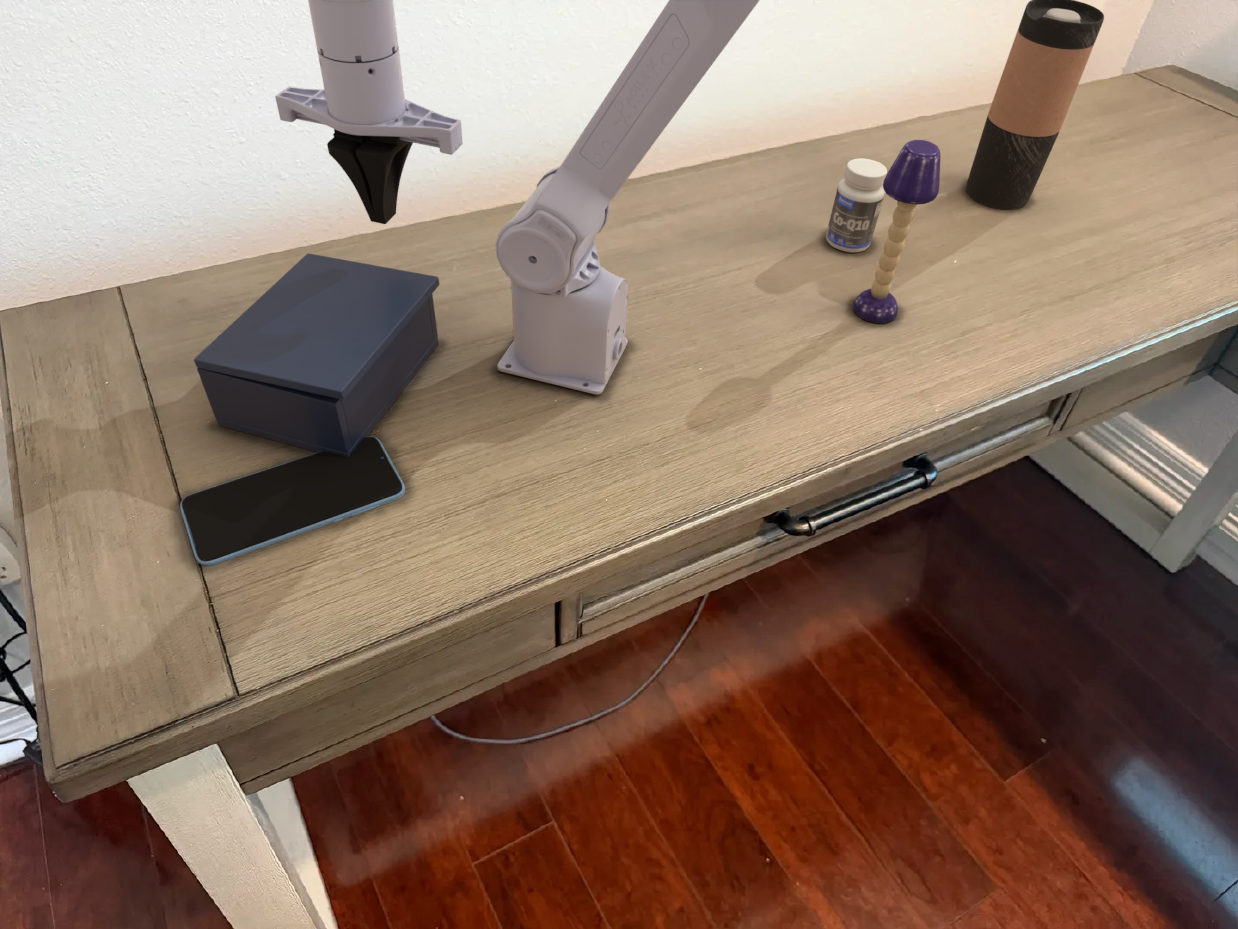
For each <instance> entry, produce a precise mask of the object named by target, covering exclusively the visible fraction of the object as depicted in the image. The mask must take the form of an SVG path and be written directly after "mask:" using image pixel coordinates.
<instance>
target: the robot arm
mask: <svg viewBox="0 0 1238 929" xmlns="http://www.w3.org/2000/svg"><path fill="white" fill-rule="evenodd" d="M307 2H308V7H309V12H310V18H311V25H312V30H313V34H314V40H315V46H316V51H317V56H318V57H317V58H318V61H319V67H320V73H321V79H322V85H323V89H322V88H321V89H317V88H302V87H294V86H288V87H285V89H283V90H281V91H280V92H279V93H277V94H276V95H275V96H274V99H275V102H276V107H277V111H278V115H279V120H280V121H283V122H286V123H287V122H288V123H294V122H295V121H296V120H299V121H304V122H308V123H309V122H310V123H314V124H319V125H324V126H327V127H329V128H330V129H333V132H334V133H333V134H332V135H333V136H332V138H331V139H330V140H329V141H328V142H327V143H326V146H327V152H328V154H329V156H330V157H332V159H333V160H334V161H335V162H337V164H338V165H339V166H340V168H341V169H342V170H343V171H344V173H345V174H346V176H347V177H348V179H349V180H350V182H351V183H352V185H353V187H354V188H355V191H356V192H357V194H358V196H359V198H360V201H361V202H362V205H363V206H364V209H365V211H366V213H367V215H368V218H369V220H370V222H372V223H376V224H382V225H386V224H388V223H389V222H390V221H391V219H393V218H394V216H395V215H396V214H397V205H398V204H397V203H398V196H399V195H398V194H399V188H400V183H401V179H402V174H403V171H404V167H405V164H406V161H407V158H408V156H409V153H410V151H411V148H412V146H413V144H418V145H423V146H427V147H428V146H429V147H433V148H438V149H439V152H440V153H441V154H445V155H450V156H452V155H453V154H455V153H456V152H457V151H458V150H459V148H461V146H462V145H463V142H464V141H463V129H462V120H461V119H458V118H454V117H450V116H447V115H443V114H442V113H438V112H437V111H434V110H431V109H429V108H426V107H424V106H422V105H419V104H418V103H415V102H413V101H410V100H408V99H406V98H405V88H404V81H403V70H402V64H401V55H400V46H399V40H398V31H397V30H398V29H397V22H396V12H395V5H394V0H307ZM759 2H760V0H668V1H667V2H666V4H665V6H664V7H663V9H662V10H661V12H660V13H659V15H658V16H657V18H656V19H655V21H654V23H652V25H651V27H650V29H649V30H648V31H647V33H646V35H645V36H644V38H643V39H642V41H641V42H640V44H639V45H638V47H637V49H635V52H634V53H633V55H632V56H631V58H630V59H629V61H628V62H627V64H626V65H625V67H624V68H623V69H622V71H621V73H620V74H619V75H618V77H617V79H616V80H615V82H614V83H613V85H612V87H611V88H610V90H609V91H608V93H607V94H606V96H605V97H604V99H603V100H602V101H601V103H600V104H599V107H598V108H597V109H596V110H595V112H594V114H593V115H592V117H591V119H590V120H589V122H588V123H587V125H586V126H585V128H584V129H583V131H582V132H581V134H580V135H579V136H578V138H577V140H576V141H575V143H574V145H573V146H572V148H571V149H570V150H569V152H568V154H567V155H566V156H565V158H564V160H563V161H562V163H561V164H560V166H557V167H555V168H552V169H550V170H548V171H547V172H546V173H544V175H542V176H541V178H540V180H539V181H538V183H537V184H536V186H535V187H536V188H535V189H534V190H533V192H532V193H531V194H530V195H529V197H528V198H527V199H526V201H525V202H524V203H523V204H522V206H521V207H520V208H519V210H517V212H516V214H515V215H514V216H513V217H512V219H510V220H509V221H507V222H506V223H505V224H504V225H503V226H502V228H501V229H500V231H499V232H498V234H497V237H496V241H495V254H496V258H497V261H498V263H499V266H500V268H501V269H502V272H504V274H505V275H506V276H507V277H508V278H509V279H510V288H511V291H510V292H511V309H512V310H511V311H512V328H513V329H512V330H513V331H512V332H513V339H512V340H513V341H512V342H511V343H510V345H509V346H508V348H507V349H506V351H505V352H504V354H503V355H502V357H501V358H500V360H499V361H498V363H497V366H496V368H497V370H498V371H499V372H502V373H505V374H510V375H513V376H518V377H521V378H527V379H531V380H534V381H539V382H542V383H547V384H552V385H555V386H560V387H562V388H566V389H572V390H576V391H579V392H584V393H588V394H592V395H600V394H602V393H603V392H604V391H605V388H606V387H607V384H608V382H609V381H610V378H611V377H612V374H613V372H614V371H615V369H616V367H617V364H618V363H619V361H620V359H621V357H622V356H623V354H624V351H625V350H626V348H627V346H628V338H627V324H628V310H629V309H628V307H629V283H628V281H627V279H626V278H624V277H621V276H620V275H619V276H618V275H616V274H614V273H612V272H610V271H608V270H607V269H606V268H604V267H602V265H600V259H599V258H600V257H599V253H598V250H597V247H596V237H597V236H598V234H599V233H601V231H602V230H603V229H604V228H605V226H606V225H607V222H608V220H609V215H610V204H611V202H612V200H613V199H614V198H615V197H616V195H617V194H618V193H619V191H620V190H621V188H622V187H623V186H624V184H625V183H626V182H627V180H628V179H629V178H630V176H631V175H632V174H633V172H634V171H635V170H636V168H637V167H638V166H639V165H640V163H641V162H642V160H643V159H644V157H645V156H646V155H647V154H648V152H649V151H650V149H651V148H652V147H653V145H654V144H655V143H656V141H657V140H658V138H659V137H660V136H661V134H663V132H664V130H665V129H666V128H667V127H668V125H669V123H670V122H671V121H672V120H673V119H674V117H675V116H676V114H677V113H678V111H679V110H680V109H681V107H682V106H683V105H684V103H685V102H686V101H687V99H688V98H689V97H690V96H691V94H692V93H693V91H694V90H695V89H696V87H697V85H698V84H699V83H700V82H701V80H702V79H703V78H704V77H705V75H706V74H707V72H708V71H709V70H710V68H711V67H712V66H713V64H714V63H715V62H716V60H717V59H718V57H719V56H720V55H721V53H722V52H723V51H724V49H725V48H726V47H727V46H728V44H729V43H730V41H731V40H732V38H733V37H734V36H735V34H736V33H737V32H738V31H739V30H740V28H741V26H742V25H743V23H744V22H745V21H746V20H747V18H748V17H749V15H750V14H751V13H752V11H753V10H754V9H755V7H756V6H757V5H758V4H759Z"/></svg>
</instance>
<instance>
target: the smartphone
mask: <svg viewBox="0 0 1238 929" xmlns="http://www.w3.org/2000/svg"><path fill="white" fill-rule="evenodd" d="M405 492H406V486H405V483H404V481H403V480H402V478H401V476H400V474H399V472H398V470H397V468H396V467H395V465H394V462H393V461H392V459H391V457H390V455H389V454H388V452H387V450H386V448H385V447H384V444H383V442H382V441H381V440H380V439H379V438H378V437H376V436H370V435H369V436H368V437H364V438H363V439H362V440H361V442H360V443H359V444H358V446H357V447H356V448H355V449H354V451H353V452H352V453H351V455H350V456H349V457H344V456H340V455H337V454H333V453H329V452H326V451H320V452H313V453H312V454H308V455H304V456H302V457H299V458H296V459H293V460H290V461H287V462H284V463H281V464H278V465H274V466H271V467H268V468H266V469H263V470H260V471H257V472H256V471H255V472H254V473H250V474H248V475H247V474H246V475H244V476H240V477H238V478H235V479H232V480H229V481H226V482H224V483H219V484H217V485H214V486H211V487H207V488H205V489H202V490H199V491H196V492H193V493H191V494H188V495H186V496H185V497H183V499H181V501H180V504H179V509H180V513H181V516H182V520H183V523H184V526H185V529H186V533H187V537H188V539H189V542H190V546H191V549H192V552H193V555H194V558H195V561H196V562H197V563H198V564H199V565H201V566H205V567H207V566H215V565H217V564H220V563H223V562H226V561H230V560H232V559H235V558H238V557H241V556H243V555H245V554H249V553H251V552H254V551H258V550H260V549H263V548H265V547H269V546H271V545H274V544H277V543H280V542H283V541H285V540H288V539H292V538H294V537H296V536H299V535H302V534H306V533H308V532H310V531H314V530H316V529H319V528H322V527H324V526H327V525H330V524H336V523H338V522H341V521H343V520H345V519H347V518H351V517H355V516H357V515H361V514H363V513H366V512H368V511H371V510H375V509H377V508H380V507H381V506H385V505H387V504H390V503H393V502H395V501H398V500H399V499H401V498H402V497H403V496H404V495H405Z"/></svg>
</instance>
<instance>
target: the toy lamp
mask: <svg viewBox="0 0 1238 929" xmlns="http://www.w3.org/2000/svg"><path fill="white" fill-rule="evenodd" d="M940 179H941V149H940V147H939V146H938V145H936V144H935V143H934V142H931V141H929V140H925V139H912V140H909V141H908V142H906V143H905V144H904V145H903V147H902V148H901V150H900V151H899V152H898V154H897V157H896V158H895V160H894V161H893V163H892V165H891V166H890V168H889V170H888V171H887V174H886V177H885V179H884V182H883V188H884V191H885V195H887V196H888V197H890V198H892V199H893V200H895V201H896V207H895V209H894V211H893V213H892V222H891V223H890V225H889V226H888V232H887V234H888V236H887V238H886V239H885V241H884V244H883V251H882V253H881V254H880V257H879V259H878V264H879V266H878V267H877V268H876V271H875V274H874V281H873V282H872V284H871V288H868V289H864V290H863V291H862V292H860V293H859V294H858V295H857V296H856V298H855V299H854V301H853V303H852V309H853V312H854V313H855V315H857V317H859V318H861V319H863V320H865V321H867V322H869V323H873V324H888V323H890V322H892V321H894V320H895V319H896V318H897V316H898V312H899V305H898V301H897V299H896V298H895V297H894V295H893V294H892V293H891V289H892V282H893V281H894V279H895V276H896V269H897V268H898V266H899V264H900V261H901V254H902V253H903V252H904V249H905V245H906V239H907V238H908V235H909V233H910V224H911V223H912V222H913V220H914V216H915V210H914V209H916V207H917V206H918V205H924V204H929V203H931V202H933V201H934V200H936V198H937V197H938V195H939V192H940V181H941V180H940Z"/></svg>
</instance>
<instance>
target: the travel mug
mask: <svg viewBox="0 0 1238 929" xmlns="http://www.w3.org/2000/svg"><path fill="white" fill-rule="evenodd" d="M1104 14H1105V13H1103V11H1101V10H1100V9H1098V8H1097V7H1096V6H1093V5H1091V4H1088V3H1085V2H1082V1H1079V0H1029V1H1028V2H1027V4H1026V5H1025V9H1024V11H1023V14H1022V17H1021V19H1020V22H1019V25H1018V28H1017V31H1016V34H1015V37H1014V39H1013V42H1012V45H1011V47H1010V51H1009V54H1008V56H1007V59H1006V62H1005V65H1004V68H1003V70H1002V73H1001V76H1000V79H999V81H998V85H997V88H996V90H995V93H994V96H993V99H992V101H991V105H990V107H989V110H988V114H987V116H986V119H985V122H984V126H983V129H982V133H981V135H980V139H979V142H978V145H977V147H976V148H977V149H976V152H975V155H974V157H973V161H972V165H971V168H970V171H969V175H968V177H967V180H966V185H965V191H966V194H967V195H968V196H969V198H970V199H972V200H974V201H975V202H976V203H979V204H980V205H983V206H986V207H989V208H993V209H999V210H1018V209H1021V208H1023V207H1025V206H1027V204H1028V203H1029V201H1030V199H1031V197H1032V194H1033V193H1034V190H1035V188H1036V186H1037V184H1038V181H1039V179H1040V177H1041V174H1042V173H1043V170H1044V168H1045V166H1046V163H1047V162H1048V159H1049V157H1050V155H1051V152H1052V149H1053V147H1054V145H1055V143H1056V141H1057V138H1058V136H1059V134H1060V131H1061V130H1062V126H1063V124H1064V123H1065V120H1066V117H1067V114H1068V112H1069V109H1070V106H1071V104H1072V101H1073V99H1074V97H1075V94H1076V92H1077V89H1078V86H1079V84H1080V81H1081V79H1082V77H1083V74H1084V71H1085V69H1086V66H1087V63H1088V62H1089V59H1090V56H1091V53H1092V51H1093V49H1094V46H1095V43H1096V41H1097V38H1098V36H1099V33H1100V30H1101V28H1102V26H1103V23H1104V21H1105V15H1104Z"/></svg>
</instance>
